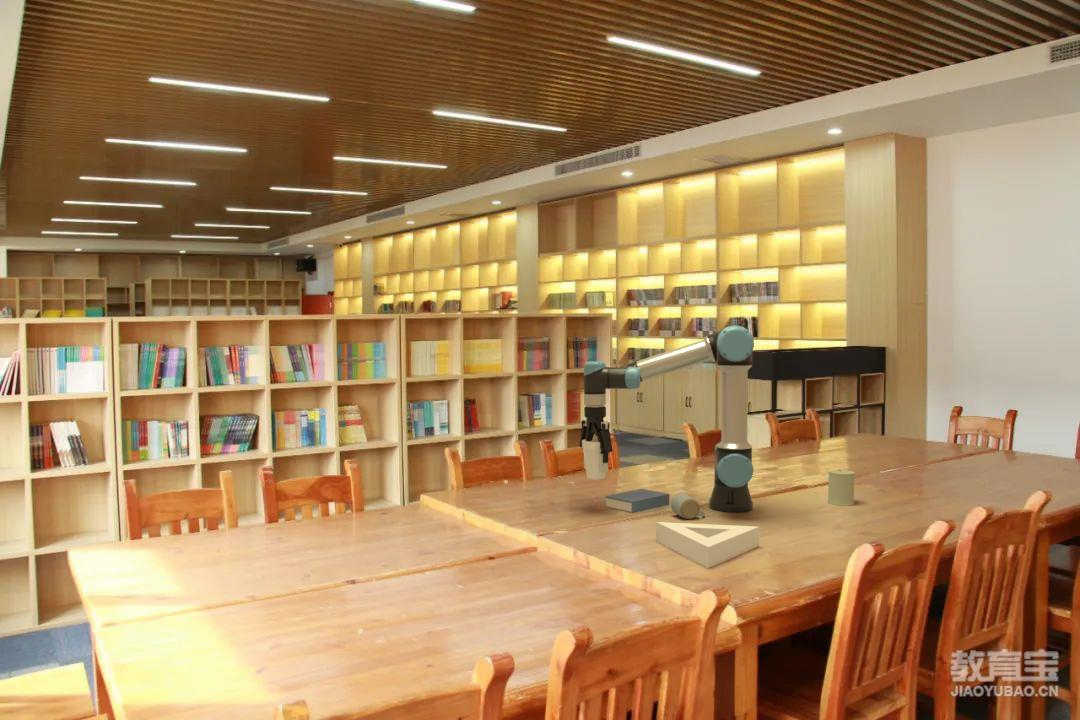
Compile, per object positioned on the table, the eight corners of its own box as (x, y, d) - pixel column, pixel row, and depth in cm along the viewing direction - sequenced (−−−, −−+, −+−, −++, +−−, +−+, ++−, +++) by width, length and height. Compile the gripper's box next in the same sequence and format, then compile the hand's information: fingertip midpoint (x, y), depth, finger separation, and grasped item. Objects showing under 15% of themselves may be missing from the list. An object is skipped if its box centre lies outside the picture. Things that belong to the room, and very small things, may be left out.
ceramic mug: (680, 520, 278) (681, 497, 278) (670, 515, 286) (670, 493, 286) (709, 519, 281) (710, 496, 281) (698, 514, 289) (698, 491, 289)
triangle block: (656, 542, 252) (656, 521, 252) (730, 535, 261) (731, 515, 261) (708, 570, 224) (708, 547, 224) (790, 561, 233) (790, 539, 233)
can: (850, 500, 312) (851, 468, 311) (857, 505, 302) (858, 472, 302) (825, 500, 312) (825, 468, 312) (831, 505, 303) (831, 472, 303)
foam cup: (610, 479, 287) (609, 442, 287) (583, 480, 288) (582, 442, 287) (608, 475, 297) (607, 438, 296) (582, 475, 297) (581, 438, 297)
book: (669, 506, 303) (669, 493, 303) (632, 514, 290) (632, 501, 289) (641, 500, 313) (641, 488, 313) (605, 508, 299) (605, 496, 299)
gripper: (622, 407, 284) (623, 473, 285) (586, 403, 303) (587, 464, 304) (604, 409, 280) (605, 475, 281) (568, 404, 299) (569, 466, 300)
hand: (595, 470), depth 292 cm, fingers closed on foam cup, 9 cm apart
